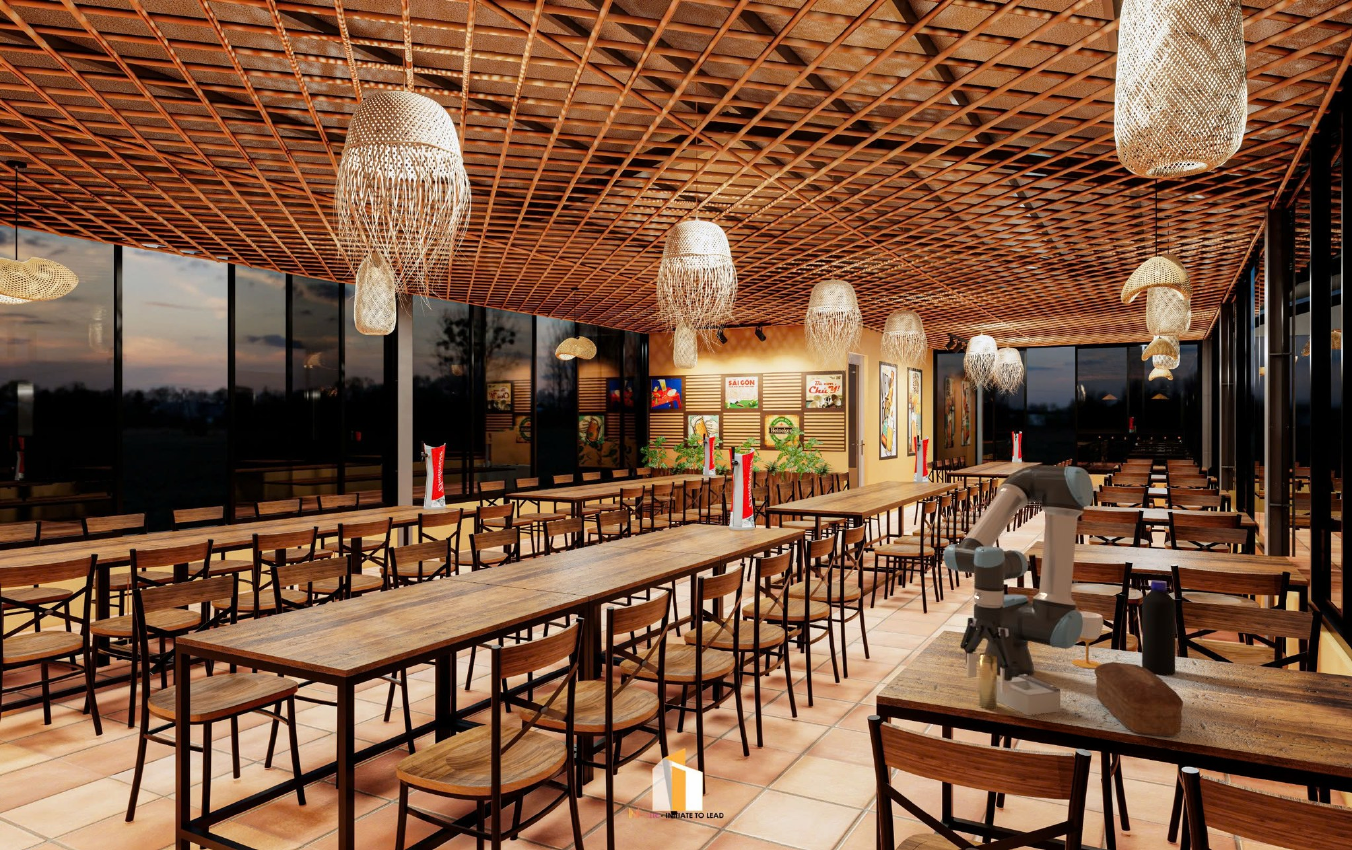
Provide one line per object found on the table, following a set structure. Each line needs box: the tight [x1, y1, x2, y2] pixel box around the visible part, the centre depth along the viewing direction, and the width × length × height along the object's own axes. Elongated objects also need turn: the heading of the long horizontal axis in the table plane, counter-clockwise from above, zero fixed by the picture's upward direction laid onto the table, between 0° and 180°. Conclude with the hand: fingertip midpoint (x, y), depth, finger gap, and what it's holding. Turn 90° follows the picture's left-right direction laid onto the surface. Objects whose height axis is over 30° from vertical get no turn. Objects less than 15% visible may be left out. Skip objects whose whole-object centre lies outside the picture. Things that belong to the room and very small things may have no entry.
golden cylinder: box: [978, 652, 998, 711], centre depth 209 cm, size 4×4×14 cm
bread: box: [1094, 661, 1184, 737], centre depth 202 cm, size 14×28×12 cm, turn 169°
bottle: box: [1141, 580, 1177, 676], centre depth 242 cm, size 9×9×28 cm
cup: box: [1070, 611, 1104, 670], centre depth 248 cm, size 9×9×16 cm
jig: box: [997, 674, 1061, 716], centre depth 210 cm, size 11×13×6 cm
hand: (988, 684), depth 209 cm, fingers open, 12 cm apart
